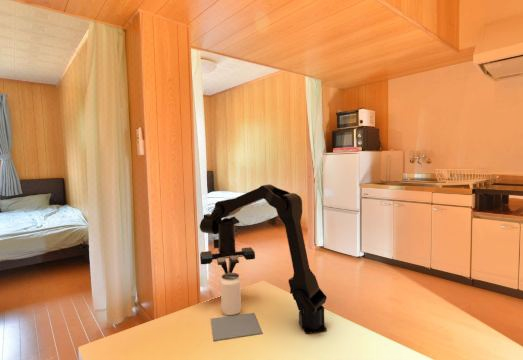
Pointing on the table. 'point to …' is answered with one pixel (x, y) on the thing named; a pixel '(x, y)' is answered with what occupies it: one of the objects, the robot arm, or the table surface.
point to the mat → (235, 326)
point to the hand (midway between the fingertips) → (228, 279)
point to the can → (230, 294)
